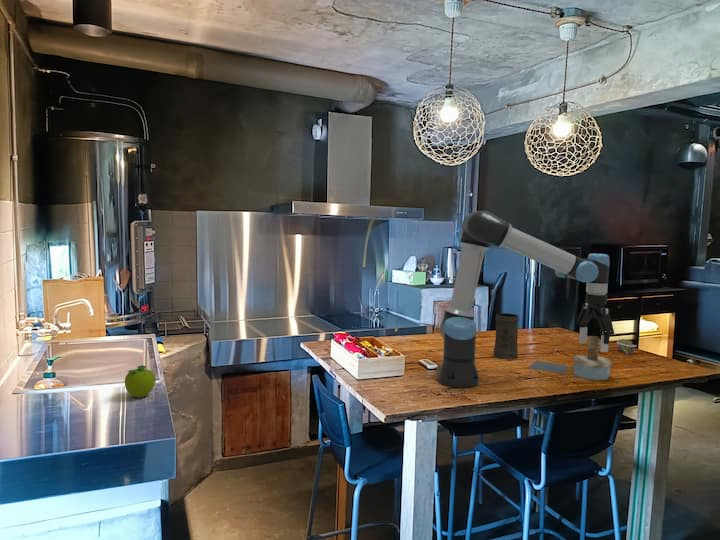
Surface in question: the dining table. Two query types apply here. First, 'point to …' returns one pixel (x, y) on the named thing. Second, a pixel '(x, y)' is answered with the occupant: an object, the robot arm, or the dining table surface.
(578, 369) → the bowl
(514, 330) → the beer stein
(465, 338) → the robot arm
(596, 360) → the lid
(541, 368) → the mat
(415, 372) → the dining table surface
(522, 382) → the dining table surface
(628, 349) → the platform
